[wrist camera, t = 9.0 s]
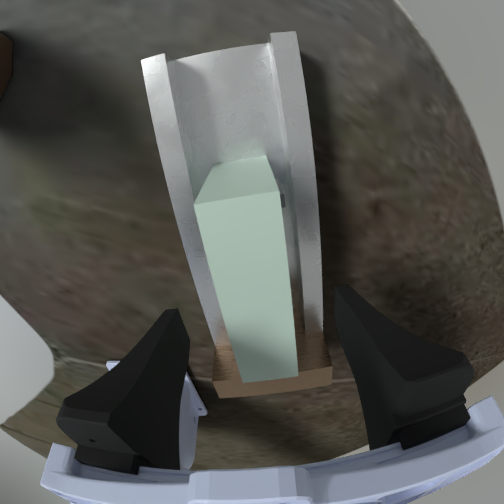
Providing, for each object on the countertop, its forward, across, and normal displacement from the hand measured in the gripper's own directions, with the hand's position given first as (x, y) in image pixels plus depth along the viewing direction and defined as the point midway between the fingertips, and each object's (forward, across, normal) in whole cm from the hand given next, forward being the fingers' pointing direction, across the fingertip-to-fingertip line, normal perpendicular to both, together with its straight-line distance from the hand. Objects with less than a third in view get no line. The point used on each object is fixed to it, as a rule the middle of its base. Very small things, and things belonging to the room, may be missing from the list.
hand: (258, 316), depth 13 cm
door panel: (+6, 0, -1) cm, 7 cm away
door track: (+7, 0, -2) cm, 7 cm away
